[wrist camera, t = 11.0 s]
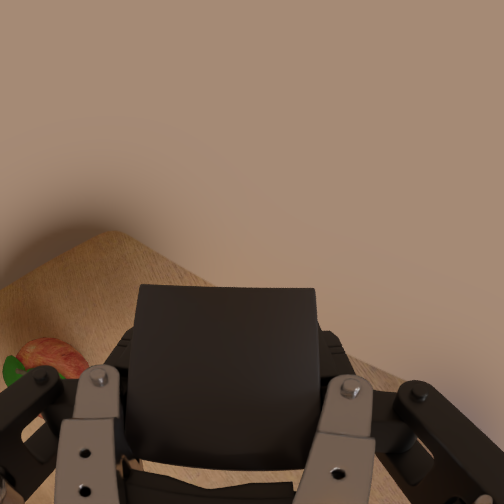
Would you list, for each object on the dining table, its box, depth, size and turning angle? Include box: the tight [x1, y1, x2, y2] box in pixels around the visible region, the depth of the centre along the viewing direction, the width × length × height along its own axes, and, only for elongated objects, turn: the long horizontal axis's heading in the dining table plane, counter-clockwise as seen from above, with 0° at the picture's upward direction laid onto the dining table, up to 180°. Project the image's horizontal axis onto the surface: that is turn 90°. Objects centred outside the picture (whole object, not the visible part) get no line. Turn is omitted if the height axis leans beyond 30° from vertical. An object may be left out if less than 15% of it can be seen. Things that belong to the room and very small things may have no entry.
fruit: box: [2, 337, 89, 418], centre depth 20 cm, size 9×10×10 cm
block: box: [125, 284, 321, 471], centre depth 11 cm, size 5×5×9 cm
